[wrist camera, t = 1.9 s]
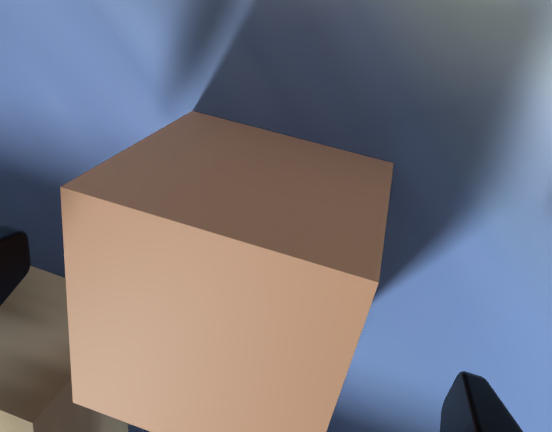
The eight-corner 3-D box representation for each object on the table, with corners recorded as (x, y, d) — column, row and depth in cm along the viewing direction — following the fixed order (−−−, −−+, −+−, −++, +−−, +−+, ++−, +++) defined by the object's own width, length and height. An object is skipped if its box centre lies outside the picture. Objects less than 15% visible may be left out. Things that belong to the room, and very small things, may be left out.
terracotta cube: (393, 162, 11) (379, 282, 6) (342, 323, 13) (305, 490, 9) (193, 109, 11) (59, 186, 7) (179, 272, 14) (72, 402, 10)
